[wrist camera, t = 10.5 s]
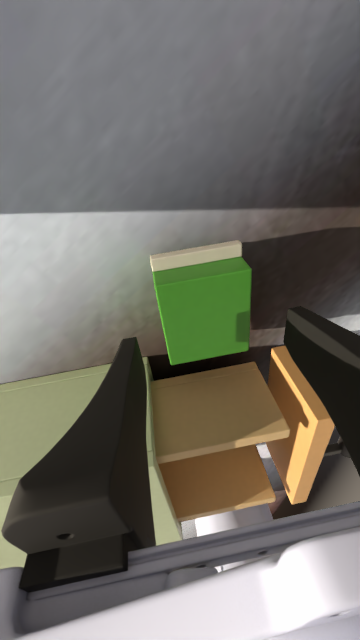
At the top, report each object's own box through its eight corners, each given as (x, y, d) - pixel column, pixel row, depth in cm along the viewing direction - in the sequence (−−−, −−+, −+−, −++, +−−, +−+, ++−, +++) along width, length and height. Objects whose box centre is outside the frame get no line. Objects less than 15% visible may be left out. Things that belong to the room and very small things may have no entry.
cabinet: (147, 356, 19) (154, 466, 13) (171, 447, 27) (183, 545, 20) (-46, 392, 19) (-137, 526, 12) (34, 475, 26) (2, 585, 20)
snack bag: (148, 244, 15) (151, 272, 12) (230, 230, 15) (253, 254, 12) (166, 337, 19) (172, 374, 16) (231, 325, 19) (249, 359, 16)
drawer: (352, 332, 20) (424, 399, 15) (322, 422, 26) (365, 488, 21) (114, 377, 19) (108, 463, 14) (146, 458, 26) (149, 535, 21)
